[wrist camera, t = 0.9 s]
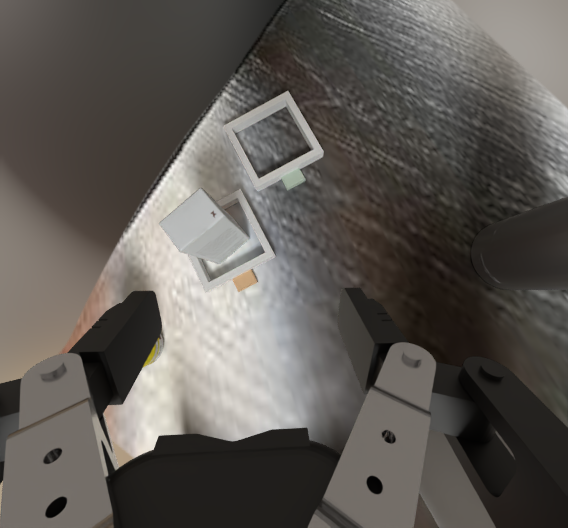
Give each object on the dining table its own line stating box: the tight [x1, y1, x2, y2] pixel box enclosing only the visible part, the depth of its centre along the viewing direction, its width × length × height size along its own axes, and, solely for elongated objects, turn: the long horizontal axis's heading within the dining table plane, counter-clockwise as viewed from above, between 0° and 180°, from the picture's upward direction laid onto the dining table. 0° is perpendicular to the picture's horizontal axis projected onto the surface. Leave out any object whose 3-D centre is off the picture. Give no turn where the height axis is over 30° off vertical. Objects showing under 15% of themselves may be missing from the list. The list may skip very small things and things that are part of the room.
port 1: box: [223, 91, 324, 192], centre depth 39 cm, size 11×13×2 cm
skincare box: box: [159, 188, 250, 264], centre depth 33 cm, size 6×4×12 cm
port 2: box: [188, 189, 276, 292], centre depth 38 cm, size 11×13×2 cm
